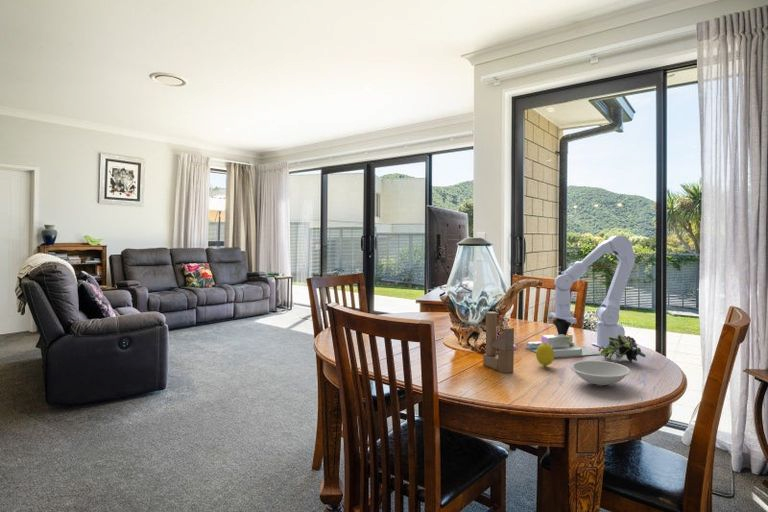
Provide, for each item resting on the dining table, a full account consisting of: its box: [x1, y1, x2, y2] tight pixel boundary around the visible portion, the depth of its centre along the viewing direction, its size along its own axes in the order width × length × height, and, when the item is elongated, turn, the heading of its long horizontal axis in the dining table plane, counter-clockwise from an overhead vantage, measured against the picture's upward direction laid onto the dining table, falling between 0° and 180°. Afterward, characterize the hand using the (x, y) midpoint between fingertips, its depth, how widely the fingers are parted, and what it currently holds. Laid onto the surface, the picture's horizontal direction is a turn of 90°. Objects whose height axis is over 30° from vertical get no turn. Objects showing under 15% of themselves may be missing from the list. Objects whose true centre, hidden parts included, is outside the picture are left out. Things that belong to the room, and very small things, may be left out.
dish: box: [570, 360, 631, 387], centre depth 119 cm, size 18×14×5 cm
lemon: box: [535, 343, 555, 368], centre depth 136 cm, size 6×6×8 cm
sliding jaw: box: [526, 333, 575, 349], centre depth 160 cm, size 20×2×4 cm, turn 103°
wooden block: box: [482, 311, 515, 374], centre depth 135 cm, size 4×11×18 cm, turn 26°
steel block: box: [540, 333, 570, 349], centre depth 153 cm, size 9×4×6 cm, turn 103°
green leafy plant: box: [598, 335, 646, 363], centre depth 142 cm, size 11×11×12 cm
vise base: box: [524, 344, 601, 359], centre depth 155 cm, size 21×15×2 cm
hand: (562, 337), depth 167 cm, fingers closed
